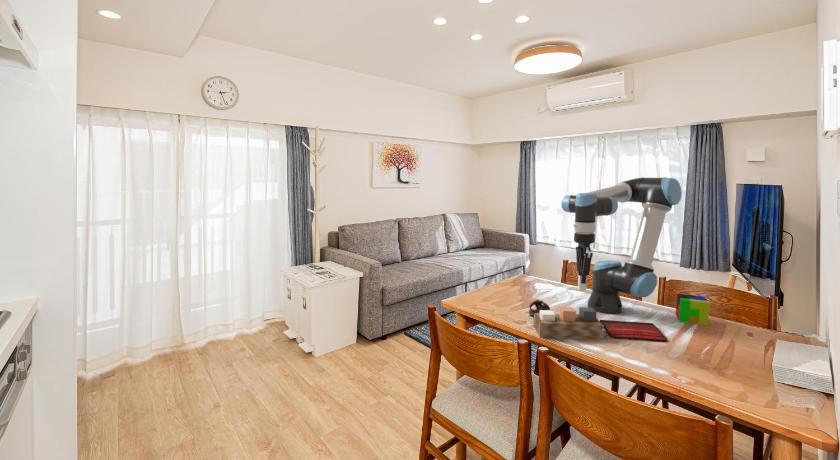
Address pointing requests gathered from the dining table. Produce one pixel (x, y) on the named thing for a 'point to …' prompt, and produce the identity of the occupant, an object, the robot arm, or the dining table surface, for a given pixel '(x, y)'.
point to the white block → (547, 315)
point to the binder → (633, 330)
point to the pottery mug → (538, 307)
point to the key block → (568, 328)
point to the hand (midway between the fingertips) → (582, 290)
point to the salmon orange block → (567, 314)
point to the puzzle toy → (692, 309)
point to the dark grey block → (587, 314)
